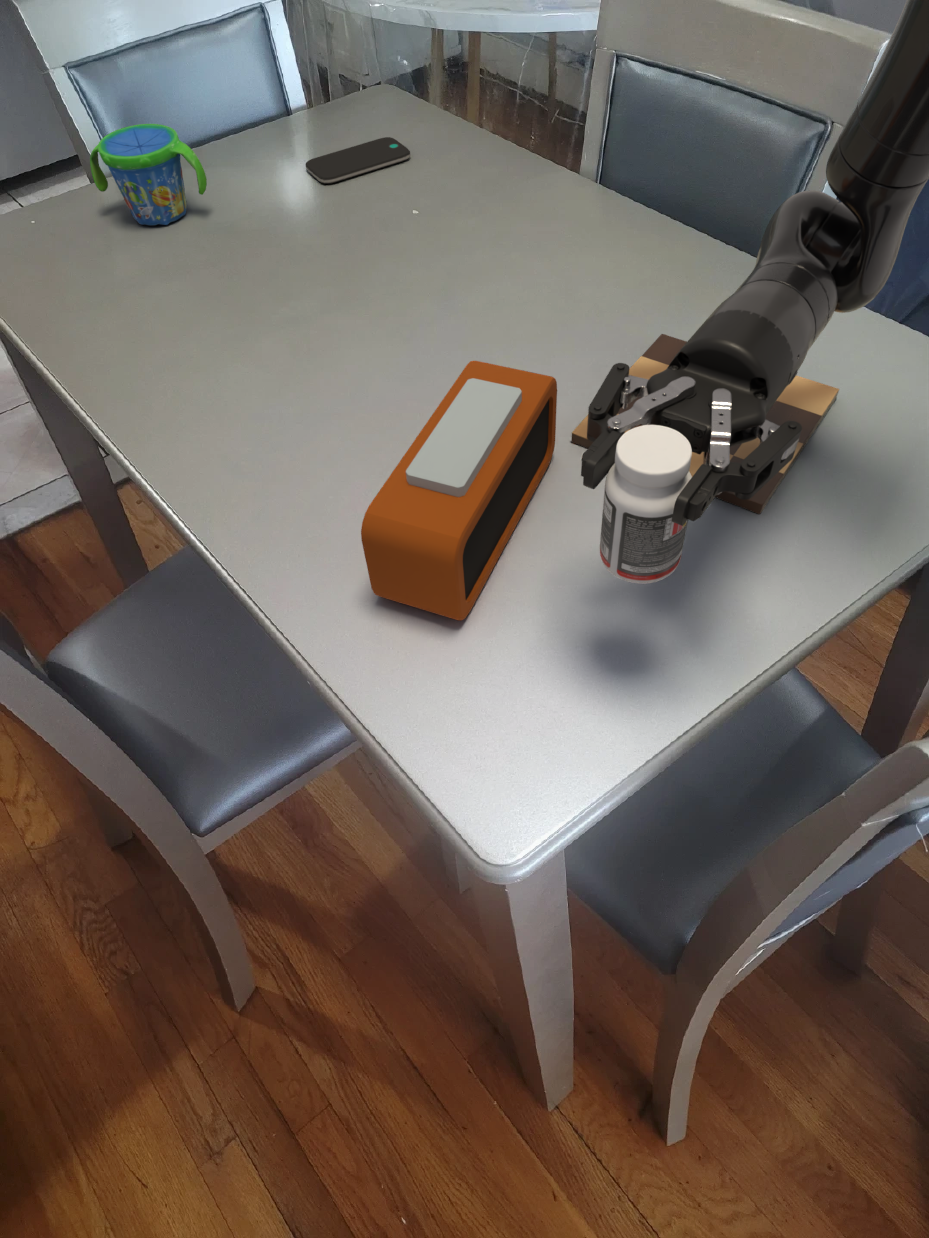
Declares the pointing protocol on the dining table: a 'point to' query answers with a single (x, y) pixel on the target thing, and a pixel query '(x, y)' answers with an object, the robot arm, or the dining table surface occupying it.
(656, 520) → the pill bottle
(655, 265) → the dining table surface
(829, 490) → the dining table surface
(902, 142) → the robot arm
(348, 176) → the smartphone
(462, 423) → the alarm clock
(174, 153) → the snack cup
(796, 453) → the chessboard
